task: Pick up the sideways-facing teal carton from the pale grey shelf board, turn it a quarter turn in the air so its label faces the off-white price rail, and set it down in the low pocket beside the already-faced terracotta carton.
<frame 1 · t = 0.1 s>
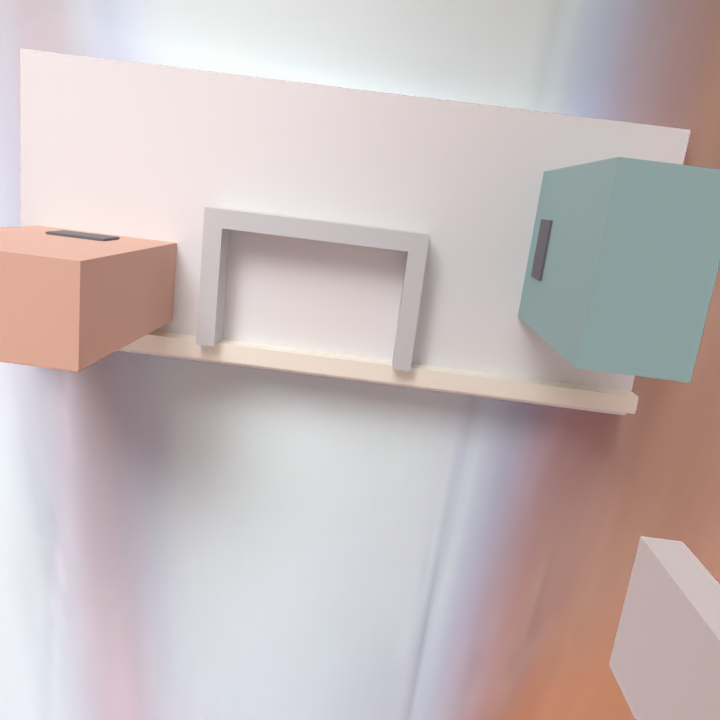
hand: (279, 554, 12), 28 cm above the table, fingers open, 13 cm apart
teal carton: (570, 251, 37), point 1 cm above the table, touching shelf
terracotta carton: (106, 273, 38), point 1 cm above the table, touching shelf
shelf: (338, 238, 38), on the table
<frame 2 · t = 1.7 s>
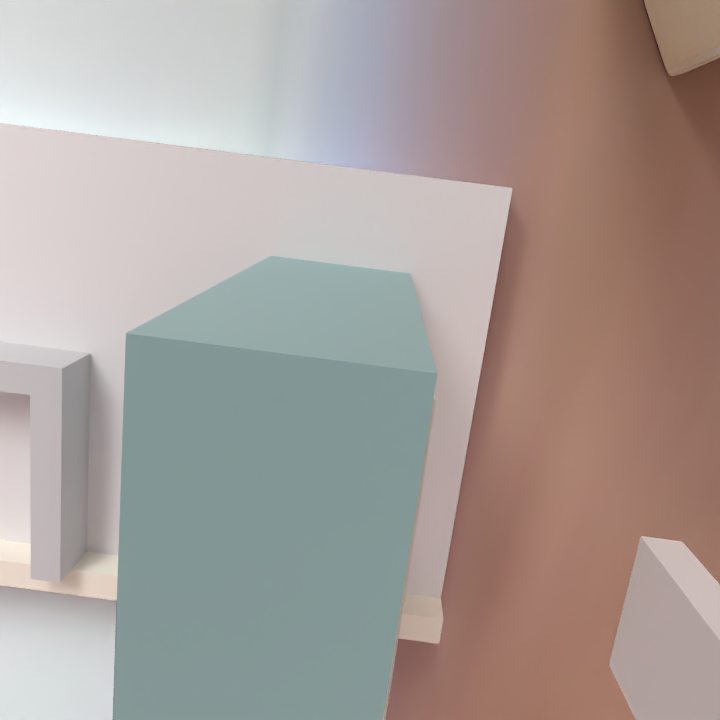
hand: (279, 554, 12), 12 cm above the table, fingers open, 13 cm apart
teal carton: (326, 383, 22), point 1 cm above the table, touching shelf
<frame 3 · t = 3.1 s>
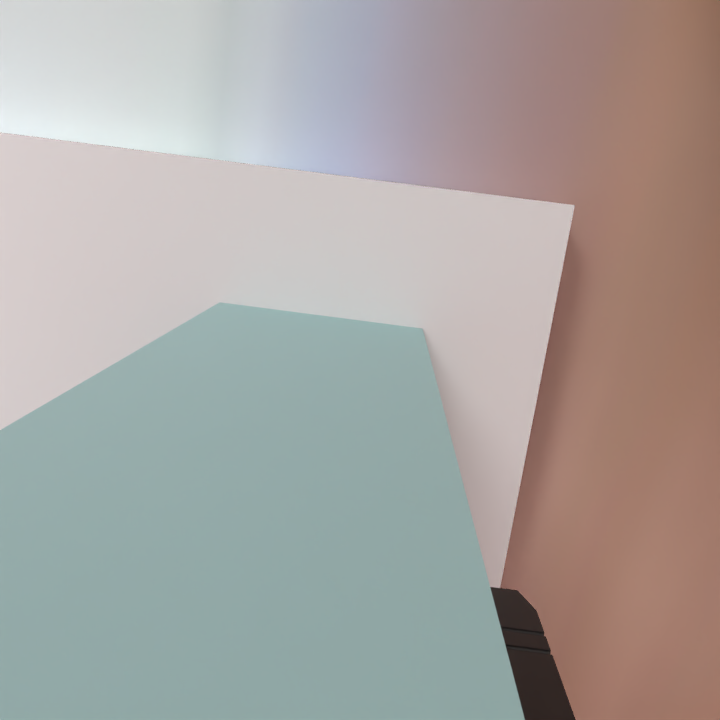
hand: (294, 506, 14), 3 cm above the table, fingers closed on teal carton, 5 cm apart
teal carton: (302, 483, 15), point 2 cm above the table, touching gripper, shelf
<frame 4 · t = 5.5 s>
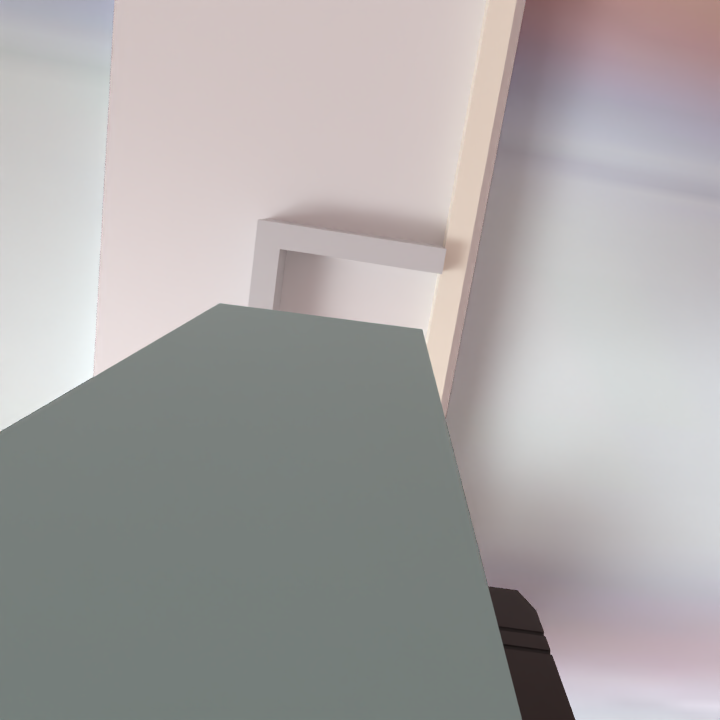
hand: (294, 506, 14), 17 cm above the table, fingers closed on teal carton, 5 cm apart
teal carton: (302, 483, 15), point 15 cm above the table, touching gripper
shelf: (281, 330, 30), on the table
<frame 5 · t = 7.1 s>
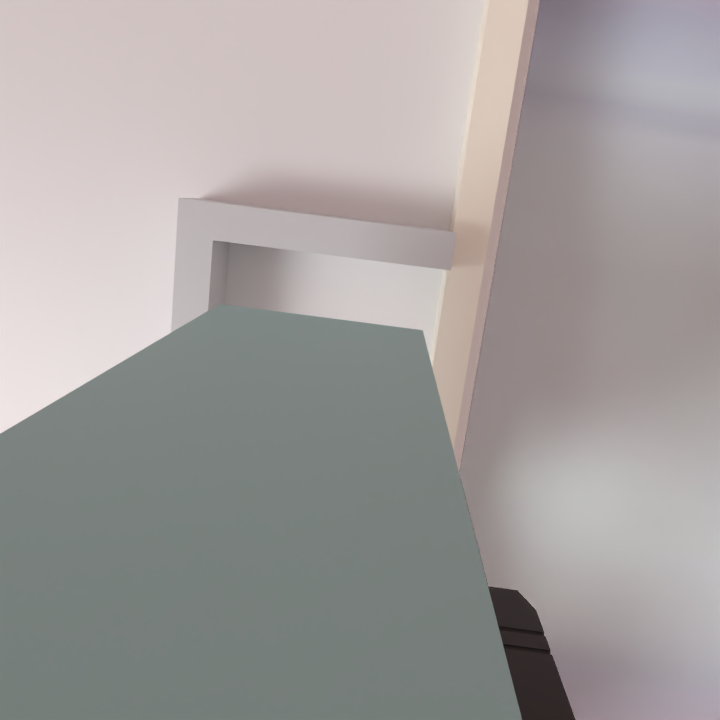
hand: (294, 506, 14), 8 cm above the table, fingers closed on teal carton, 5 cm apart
teal carton: (302, 484, 15), point 7 cm above the table, touching gripper
shelf: (231, 353, 22), on the table
when the fingers open (5 cm above the table, at t = 8.1 s): teal carton drops 2 cm, resting on shelf.
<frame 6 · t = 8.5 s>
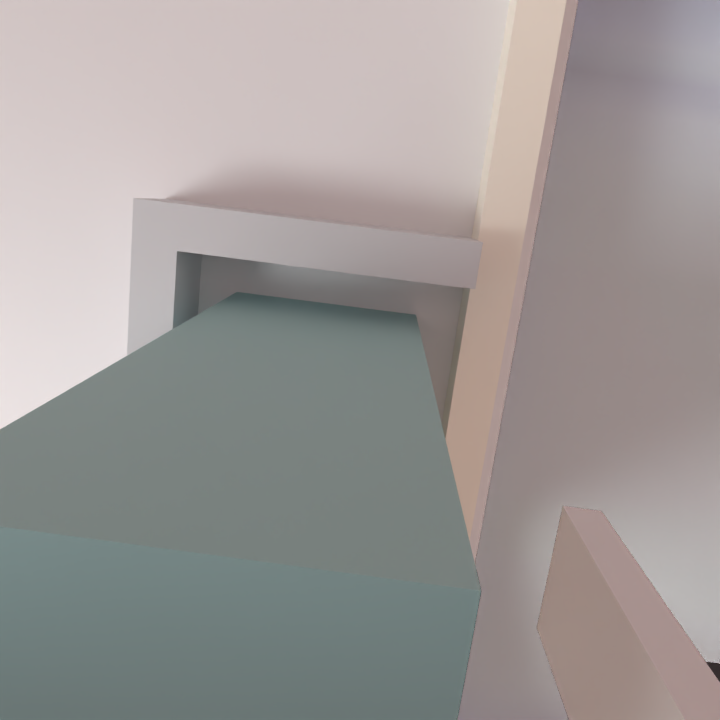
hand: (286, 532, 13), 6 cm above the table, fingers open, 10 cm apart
teal carton: (309, 452, 17), point 1 cm above the table, touching shelf
shelf: (207, 384, 19), on the table
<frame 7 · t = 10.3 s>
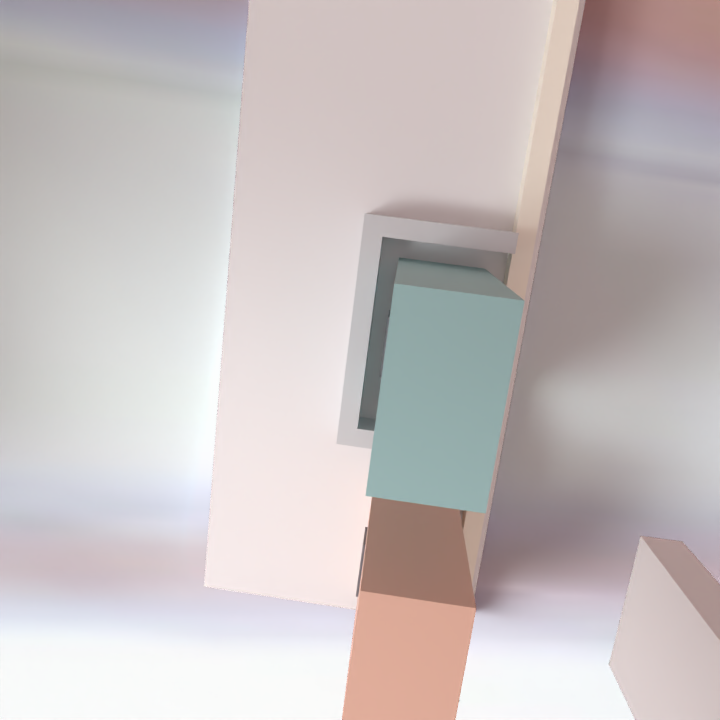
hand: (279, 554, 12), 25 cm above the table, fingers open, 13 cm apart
teal carton: (430, 337, 35), point 1 cm above the table, touching shelf
terracotta carton: (405, 539, 38), point 1 cm above the table, touching shelf
shelf: (375, 306, 37), on the table
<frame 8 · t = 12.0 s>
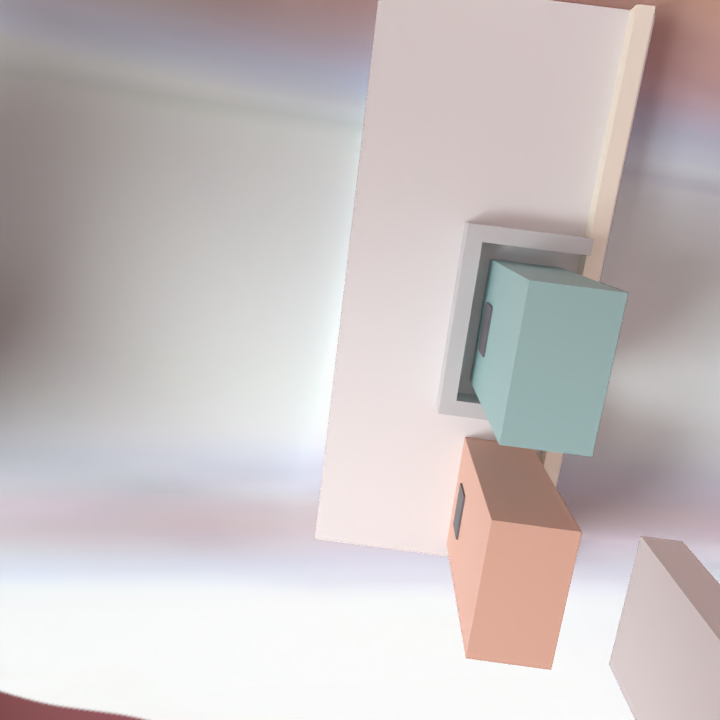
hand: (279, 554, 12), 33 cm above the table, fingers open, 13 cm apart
teal carton: (514, 325, 42), point 1 cm above the table, touching shelf
terracotta carton: (487, 495, 45), point 1 cm above the table, touching shelf
shelf: (465, 299, 44), on the table
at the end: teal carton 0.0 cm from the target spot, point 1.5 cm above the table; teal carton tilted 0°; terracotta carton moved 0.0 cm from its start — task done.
